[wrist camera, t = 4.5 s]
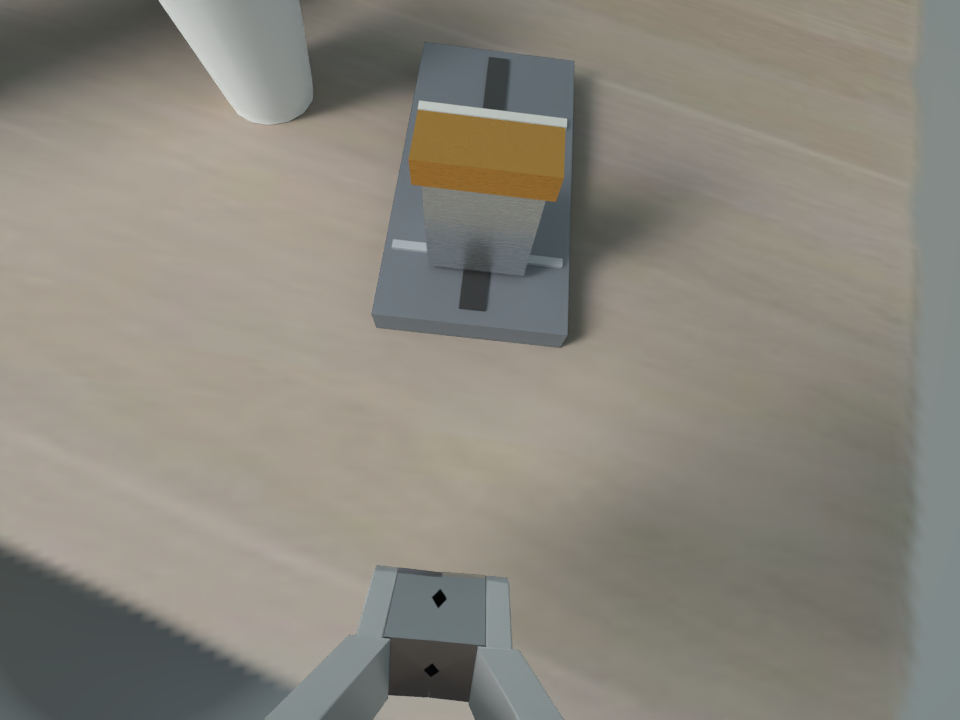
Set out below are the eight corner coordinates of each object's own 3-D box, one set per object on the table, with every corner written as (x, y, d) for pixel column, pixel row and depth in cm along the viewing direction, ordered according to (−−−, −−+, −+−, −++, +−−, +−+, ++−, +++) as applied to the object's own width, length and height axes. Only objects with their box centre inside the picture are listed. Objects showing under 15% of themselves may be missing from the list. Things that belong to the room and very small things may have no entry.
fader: (531, 277, 28) (563, 177, 20) (420, 264, 28) (408, 159, 20) (533, 237, 29) (565, 127, 21) (426, 224, 29) (417, 109, 21)
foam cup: (331, 139, 34) (267, -74, 22) (203, 142, 33) (63, -78, 21) (333, 51, 38) (278, -177, 25) (217, 52, 37) (101, -184, 24)
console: (559, 347, 29) (568, 333, 27) (376, 327, 29) (370, 311, 27) (568, 84, 38) (575, 57, 36) (425, 66, 38) (424, 38, 35)
